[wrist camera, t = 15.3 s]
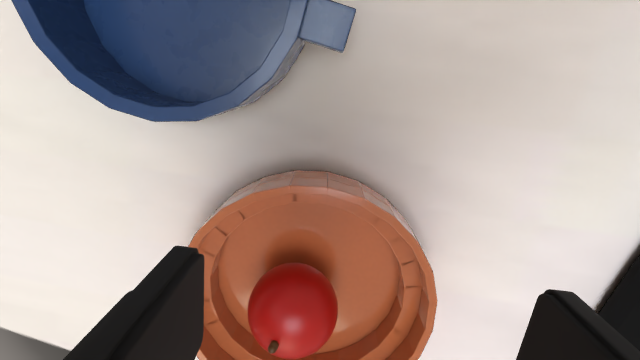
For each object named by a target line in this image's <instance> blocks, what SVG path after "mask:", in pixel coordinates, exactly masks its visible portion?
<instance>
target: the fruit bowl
mask: <svg viewBox="0 0 640 360" xmlns="http://www.w3.org/2000/svg"><path fill="white" fill-rule="evenodd" d="M188 247H192V248H197V249H198V252H199V254H203V255H204V333H203V340H202V344H201V347H200V349H199V351H198V353H197V355H196V356H197V357H198V358H199V360H418V359H419V357H420V356H421V354H422V352H423V350H424V348H425V346H426V343H427V341H428V339H429V337H430V335H431V333H432V330H433V325H434V319H435V313H436V306H437V296H436V289H435V283H434V276H433V271H432V269H431V267H430V265H429V263H428V261H427V259H426V256H425V254H424V252H423V250H422V248H421V246H420V244H419V242H418V241H417V239H416V237H415V235H414V233H413V232H412V230H411V228H410V226H409V224H408V222H407V221H406V219H405V218H404V217H403V216H402V215H401V214H400V213H399V212H398V211H397V210H396V208H395V207H394V206H393V205H392V204H391V203H390V202H389V201H388V200H387V199H386V198H385V197H383V196H382V195H380V194H379V193H377V192H375V191H374V190H372V189H371V188H369V187H367V186H366V185H364V184H363V183H361V182H359V181H357V180H354V179H350V178H347V177H344V176H340V175H337V174H334V173H331V172H324V171H301V170H295V171H290V172H285V173H280V174H276V175H271V176H266V177H264V178H261V179H259V180H257V181H255V182H253V183H251V184H249V185H247V186H245V187H244V188H242V189H240V190H238V191H237V192H235V193H234V194H233V195H232V196H231V197H230V198H228V199H227V200H226V201H225V202H224V203H223V204H222V205H221V206H220V207H219V208H218V209H217V210H216V211H215V212H214V213H213V214H212V215H211V216H210V217H209V219H208V220H207V221H206V222H205V223H204V224H203V225H202V227H201V228H200V229H199V230H198V231H197V232H196V234H195V236H194V237H193V239H192V241H191V243H190V244H189V246H188ZM286 263H303V264H307V265H309V266H312V267H314V268H316V269H317V270H319V271H320V272H321V273H322V274H323V275H324V276H326V278H327V279H328V280H329V282H330V283H331V285H332V287H333V289H334V291H335V294H336V297H337V302H338V317H337V322H336V326H335V328H334V331H333V333H332V335H331V337H330V338H329V340H328V341H327V342H326V343H325V344H324V345H323V347H321V348H320V349H319V350H318V351H316V352H315V353H313V354H311V355H309V356H307V357H304V358H299V359H283V358H279V357H276V356H274V355H272V354H270V353H269V352H267V351H266V350H264V349H263V348H262V347H261V346H260V345H259V344H258V342H257V341H256V339H255V338H254V336H253V334H252V332H251V329H250V326H249V322H248V303H249V298H250V295H251V293H252V290H253V288H254V287H255V285H256V283H257V282H258V281H259V279H260V278H261V277H262V276H263V275H264V274H265V273H267V272H268V271H269V270H271V269H272V268H274V267H276V266H279V265H282V264H286Z"/></svg>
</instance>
